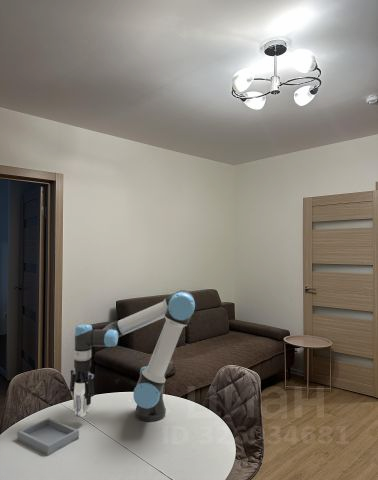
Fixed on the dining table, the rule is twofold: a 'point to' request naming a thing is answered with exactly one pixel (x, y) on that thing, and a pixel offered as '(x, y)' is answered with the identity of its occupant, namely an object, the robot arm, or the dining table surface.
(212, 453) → the dining table surface
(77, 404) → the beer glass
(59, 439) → the tray
